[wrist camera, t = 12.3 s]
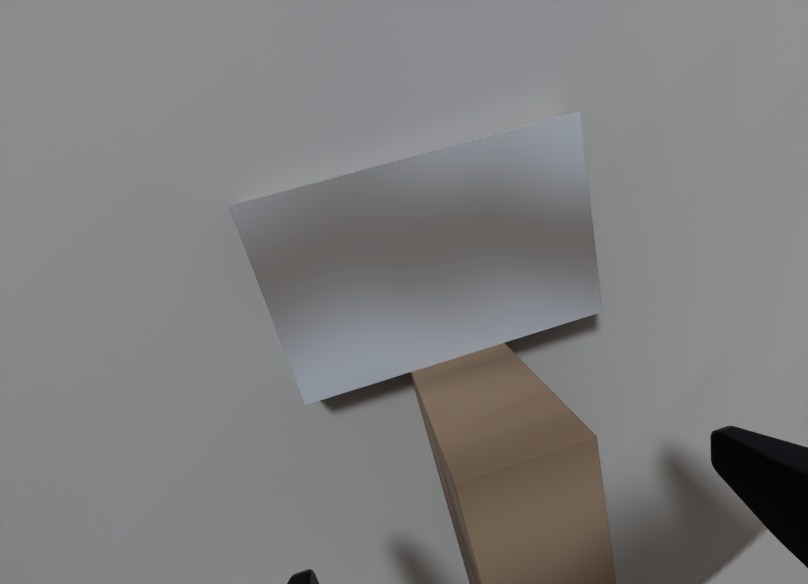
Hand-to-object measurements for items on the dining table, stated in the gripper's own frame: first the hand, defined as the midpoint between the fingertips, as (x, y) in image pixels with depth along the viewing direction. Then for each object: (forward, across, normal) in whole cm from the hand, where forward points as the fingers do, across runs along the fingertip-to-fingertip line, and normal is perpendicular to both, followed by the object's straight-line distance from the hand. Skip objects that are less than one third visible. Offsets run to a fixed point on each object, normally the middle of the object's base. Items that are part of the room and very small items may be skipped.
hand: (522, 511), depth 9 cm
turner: (+4, 0, -1) cm, 4 cm away
